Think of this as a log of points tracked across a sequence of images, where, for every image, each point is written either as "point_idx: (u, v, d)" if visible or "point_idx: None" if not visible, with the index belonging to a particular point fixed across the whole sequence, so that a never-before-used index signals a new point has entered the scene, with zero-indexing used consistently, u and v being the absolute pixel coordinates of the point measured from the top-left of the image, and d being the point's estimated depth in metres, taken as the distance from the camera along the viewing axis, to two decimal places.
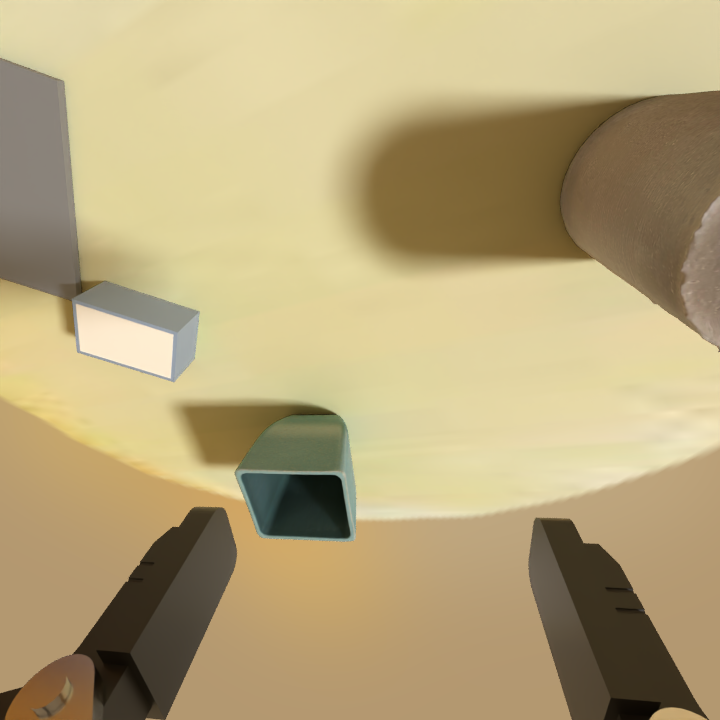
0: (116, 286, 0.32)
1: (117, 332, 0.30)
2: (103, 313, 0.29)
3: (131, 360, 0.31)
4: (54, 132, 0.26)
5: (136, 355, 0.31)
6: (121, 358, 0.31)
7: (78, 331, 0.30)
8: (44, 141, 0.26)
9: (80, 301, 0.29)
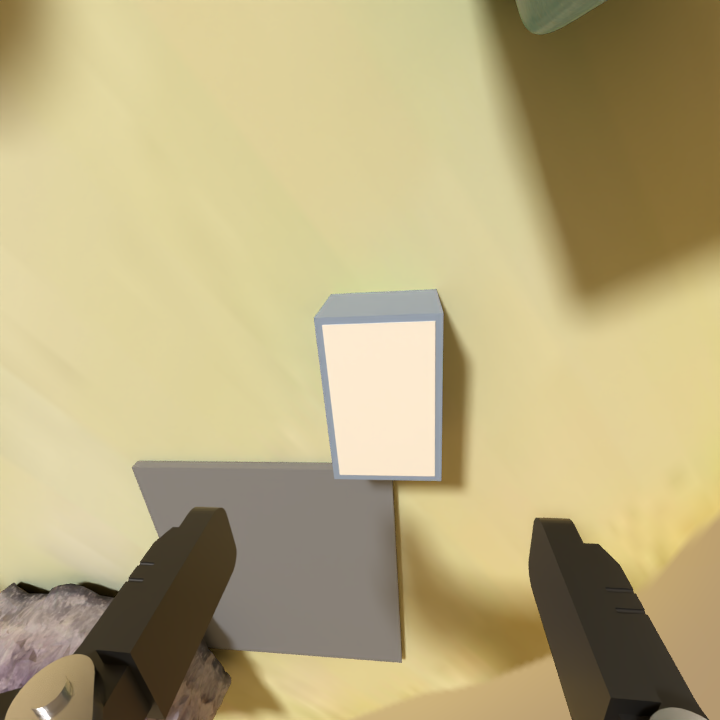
0: None
1: (365, 418, 0.17)
2: (338, 438, 0.17)
3: (419, 396, 0.16)
4: (180, 474, 0.23)
5: (403, 388, 0.16)
6: (422, 412, 0.16)
7: (393, 475, 0.18)
8: (196, 484, 0.24)
9: (333, 468, 0.18)
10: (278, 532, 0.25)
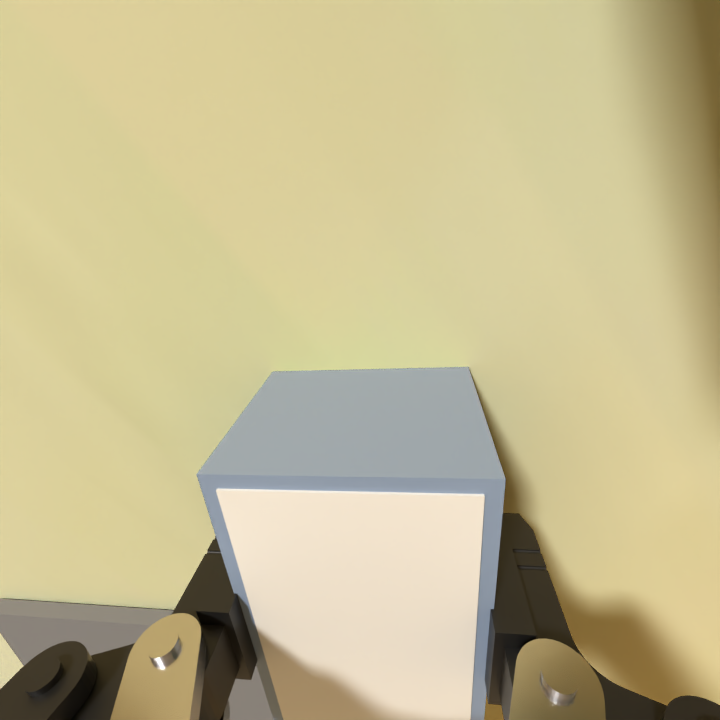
0: None
1: (327, 652, 0.08)
2: (275, 676, 0.09)
3: (441, 627, 0.07)
4: (59, 626, 0.15)
5: (406, 612, 0.07)
6: (446, 653, 0.08)
7: None
8: (84, 639, 0.15)
9: (272, 712, 0.09)
10: None
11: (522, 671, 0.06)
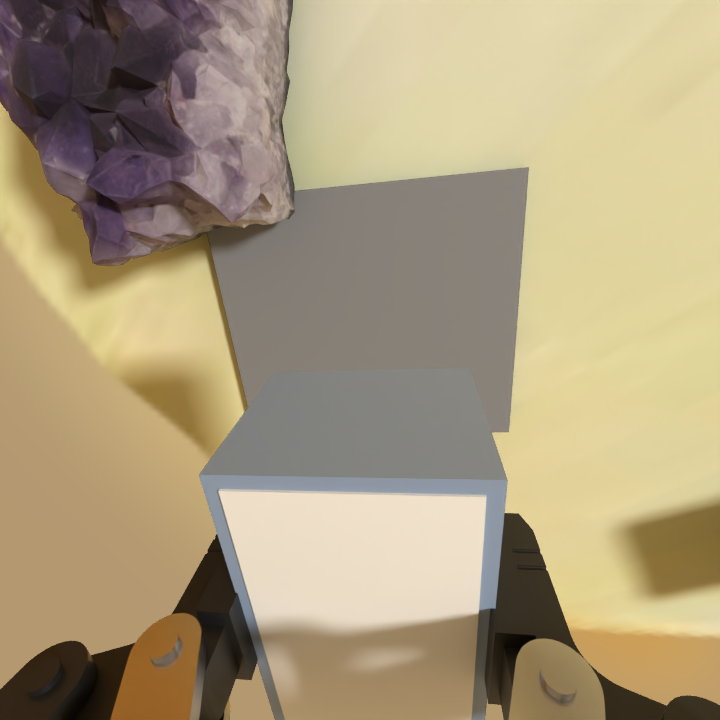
0: None
1: (328, 652, 0.08)
2: (277, 676, 0.09)
3: (442, 627, 0.07)
4: (514, 232, 0.21)
5: (407, 612, 0.07)
6: (448, 654, 0.08)
7: None
8: (499, 248, 0.21)
9: (274, 711, 0.09)
10: (430, 330, 0.24)
11: (522, 671, 0.06)
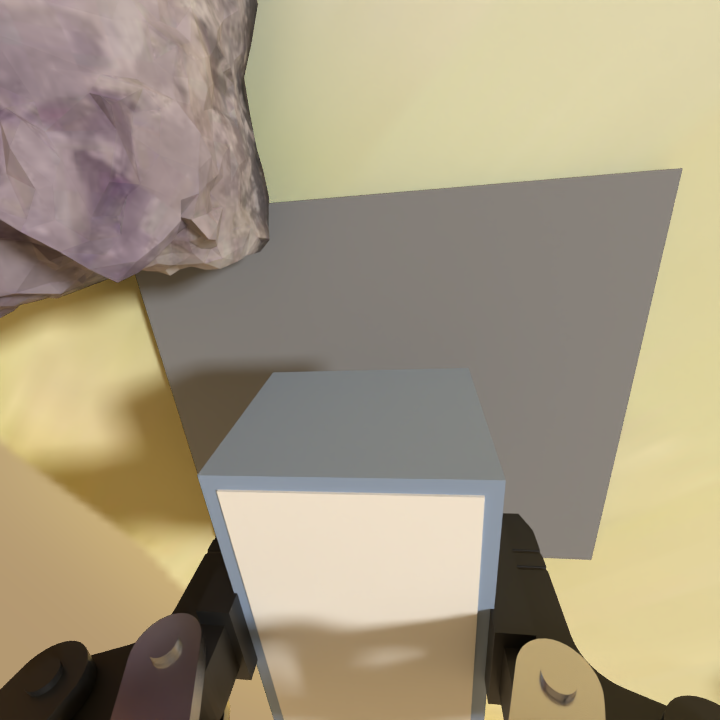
0: None
1: (328, 653, 0.08)
2: (276, 676, 0.09)
3: (441, 627, 0.07)
4: (640, 277, 0.12)
5: (406, 612, 0.07)
6: (447, 654, 0.08)
7: None
8: (610, 302, 0.13)
9: (273, 712, 0.09)
10: None
11: (522, 671, 0.06)
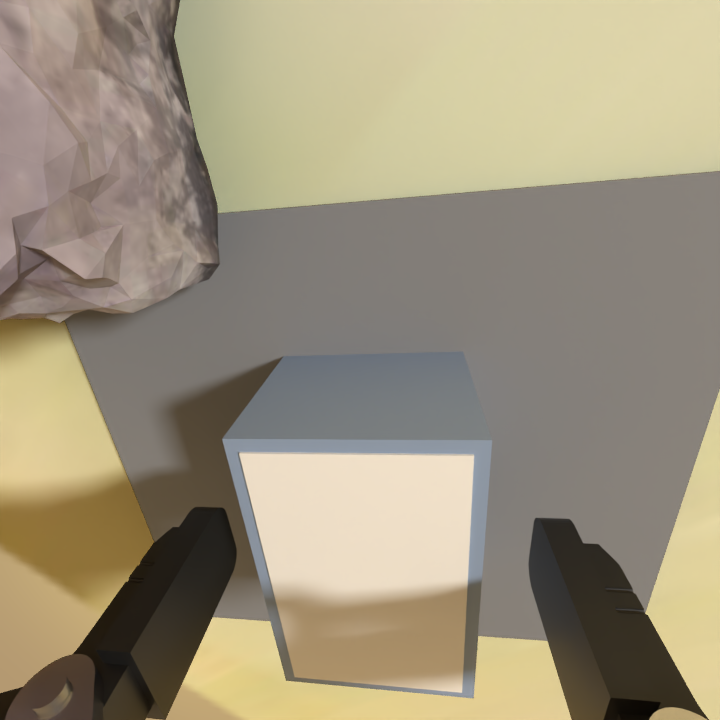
0: None
1: (335, 605, 0.09)
2: (287, 629, 0.10)
3: (436, 578, 0.08)
4: None
5: (406, 564, 0.08)
6: (441, 604, 0.08)
7: (388, 684, 0.10)
8: (679, 345, 0.10)
9: (283, 665, 0.10)
10: (504, 487, 0.12)
11: None
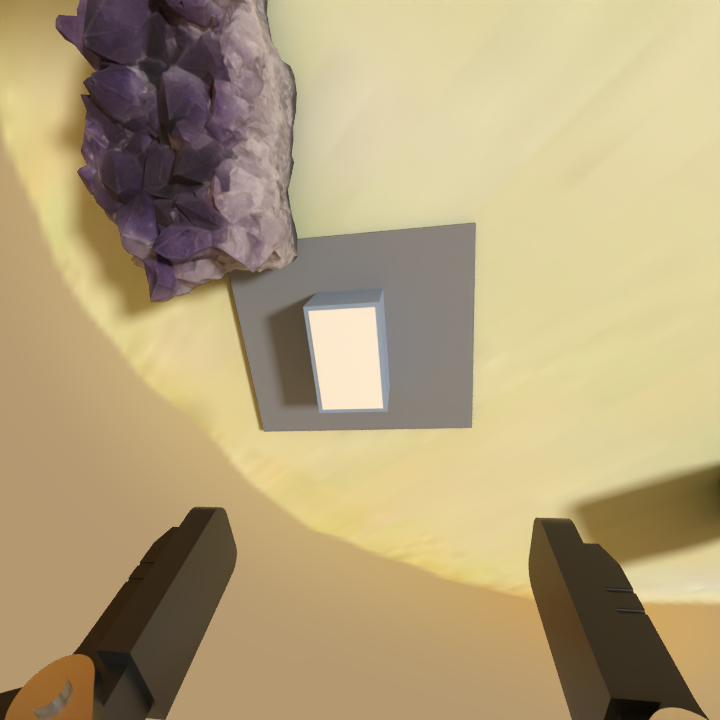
0: None
1: (337, 370, 0.27)
2: (320, 384, 0.27)
3: (369, 354, 0.26)
4: (467, 270, 0.27)
5: (359, 349, 0.26)
6: (371, 365, 0.26)
7: (357, 408, 0.28)
8: (456, 283, 0.27)
9: (318, 405, 0.28)
10: (405, 346, 0.30)
11: None
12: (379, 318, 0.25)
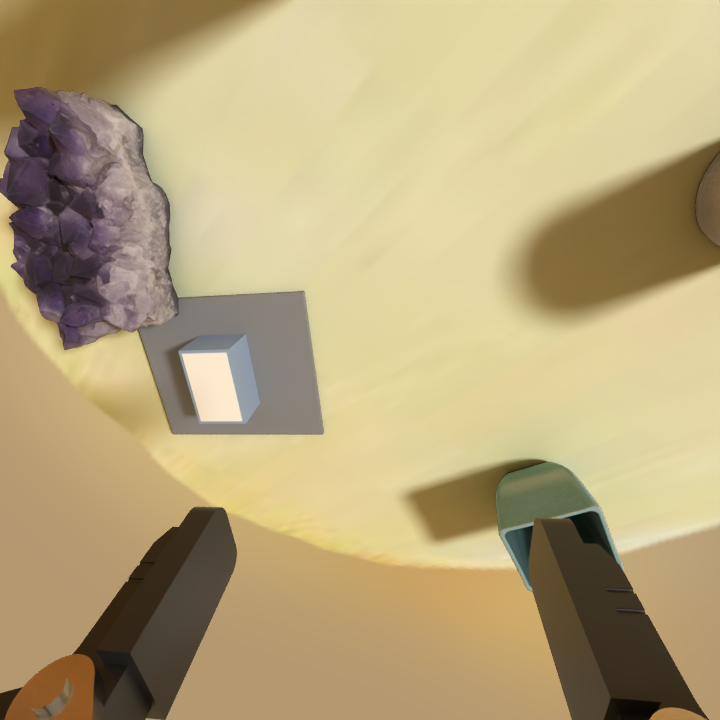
0: None
1: (206, 394, 0.37)
2: (196, 403, 0.38)
3: (227, 384, 0.37)
4: (302, 324, 0.38)
5: (219, 380, 0.36)
6: (230, 391, 0.37)
7: (224, 421, 0.38)
8: (296, 332, 0.38)
9: None
10: (267, 375, 0.40)
11: None
12: (230, 360, 0.35)
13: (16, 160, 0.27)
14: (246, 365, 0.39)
